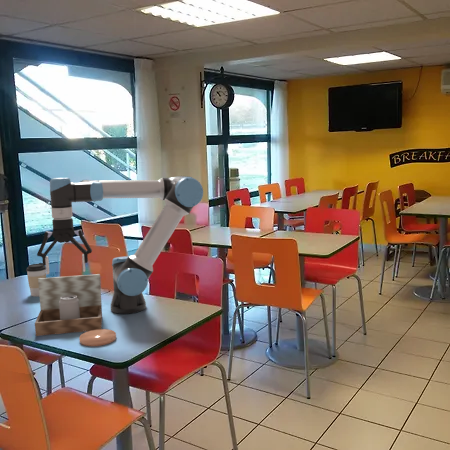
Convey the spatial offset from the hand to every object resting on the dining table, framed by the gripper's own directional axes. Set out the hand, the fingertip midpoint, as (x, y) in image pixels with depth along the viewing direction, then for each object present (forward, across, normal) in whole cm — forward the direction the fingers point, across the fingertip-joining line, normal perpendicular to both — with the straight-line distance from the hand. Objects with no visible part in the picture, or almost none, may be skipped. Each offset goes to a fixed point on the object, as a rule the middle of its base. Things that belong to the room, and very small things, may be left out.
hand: (66, 272), depth 196 cm
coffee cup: (+22, -19, +50) cm, 58 cm away
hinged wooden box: (+22, 0, 0) cm, 22 cm away
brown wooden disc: (+22, +12, -18) cm, 31 cm away
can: (+22, 0, 0) cm, 22 cm away
